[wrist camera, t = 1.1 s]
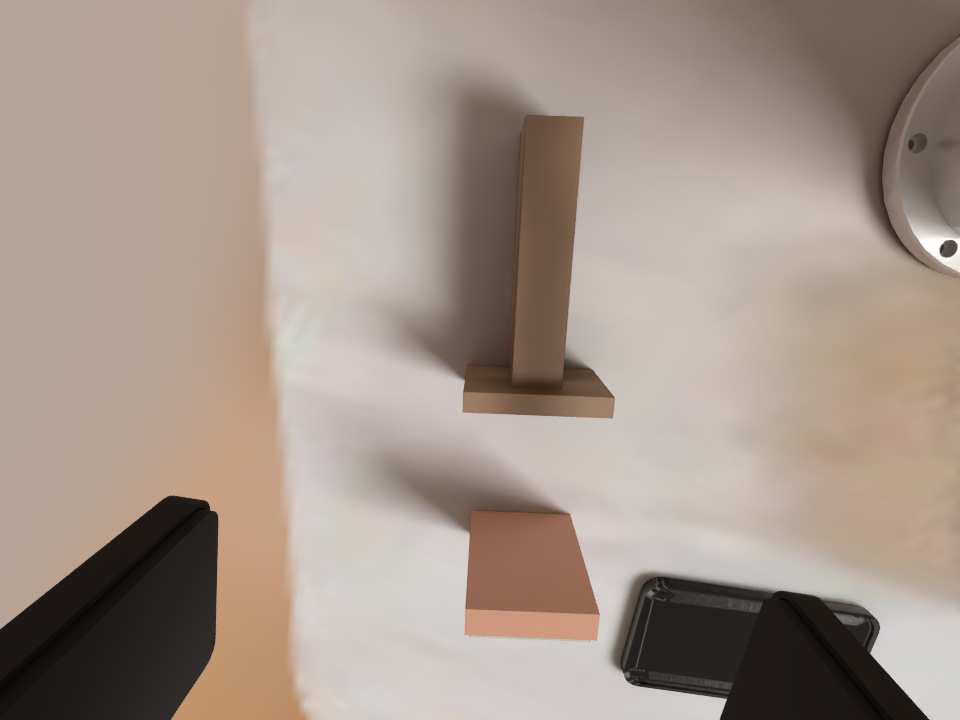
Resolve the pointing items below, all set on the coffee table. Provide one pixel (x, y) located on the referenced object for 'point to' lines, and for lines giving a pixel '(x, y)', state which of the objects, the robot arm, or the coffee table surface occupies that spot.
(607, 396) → the post on base stand
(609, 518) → the coffee table surface
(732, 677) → the phone
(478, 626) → the tile
